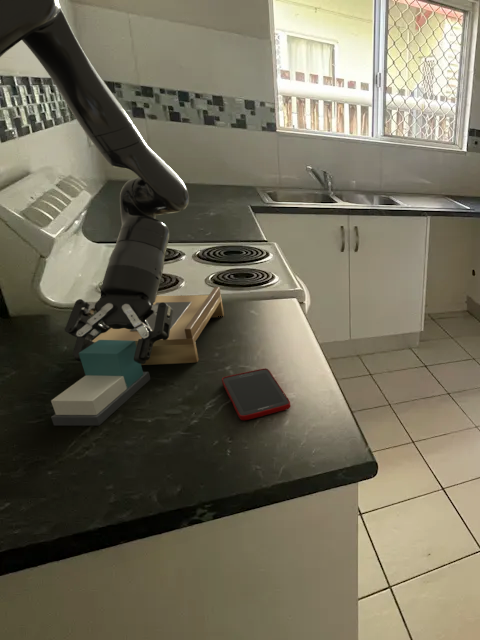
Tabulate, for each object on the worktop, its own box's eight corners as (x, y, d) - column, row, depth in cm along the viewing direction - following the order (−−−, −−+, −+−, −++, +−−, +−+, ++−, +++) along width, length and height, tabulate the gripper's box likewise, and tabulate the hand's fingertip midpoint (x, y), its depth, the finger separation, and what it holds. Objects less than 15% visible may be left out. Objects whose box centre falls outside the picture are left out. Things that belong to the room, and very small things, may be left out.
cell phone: (267, 371, 89) (267, 367, 88) (292, 408, 79) (292, 403, 78) (221, 382, 84) (220, 377, 84) (241, 422, 74) (240, 417, 74)
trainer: (99, 425, 71) (84, 379, 67) (53, 425, 70) (36, 378, 66) (150, 379, 83) (140, 338, 80) (112, 378, 82) (100, 336, 79)
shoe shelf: (94, 367, 85) (84, 332, 82) (143, 317, 106) (135, 287, 103) (197, 362, 90) (190, 328, 87) (224, 315, 110) (219, 286, 108)
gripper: (73, 260, 78) (43, 353, 72) (168, 265, 80) (146, 355, 75) (102, 281, 85) (76, 367, 79) (189, 284, 87) (169, 369, 82)
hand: (110, 361), depth 77 cm, fingers open, 8 cm apart
